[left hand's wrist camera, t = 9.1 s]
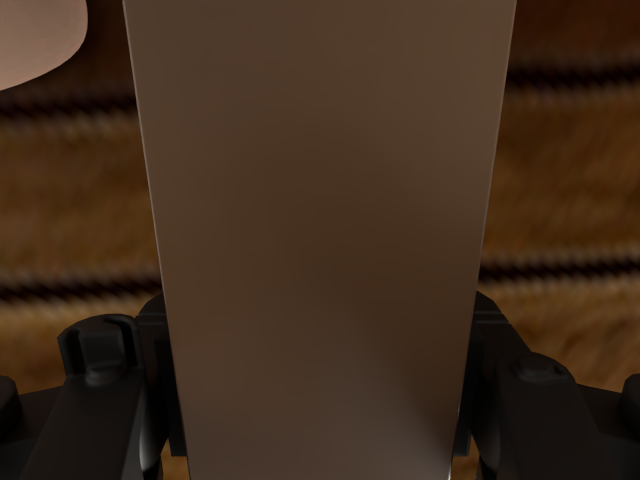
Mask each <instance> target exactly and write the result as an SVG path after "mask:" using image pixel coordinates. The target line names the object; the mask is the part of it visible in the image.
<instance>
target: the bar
mask: <svg viewBox="0 0 640 480" xmlns="http://www.w3.org/2000/svg"><path fill="white" fill-rule="evenodd" d="M122 2H123V9H124V16H125V23H126V30H127V37H128V44H129V51H130V58H131V65H132V72H133V80H134V87H135V94H136V101H137V108H138V115H139V122H140V129H141V136H142V143H143V150H144V158H145V165H146V172H147V179H148V186H149V193H150V200H151V207H152V214H153V221H154V228H155V235H156V243H157V250H158V257H159V264H160V271H161V278H162V285H163V292H164V299H165V306H166V313H167V320H168V328H169V335H170V342H171V349H172V356H173V363H174V370H175V377H176V384H177V391H178V398H179V406H180V413H181V420H182V427H183V434H184V441H185V448H186V455H187V462H188V469H189V476H190V480H450V475H451V468H452V461H453V453H454V446H455V439H456V432H457V425H458V418H459V410H460V403H461V396H462V389H463V382H464V375H465V367H466V360H467V353H468V346H469V339H470V332H471V324H472V317H473V310H474V303H475V296H476V289H477V281H478V274H479V267H480V260H481V253H482V246H483V238H484V231H485V224H486V217H487V210H488V203H489V195H490V188H491V181H492V174H493V167H494V159H495V152H496V145H497V138H498V131H499V124H500V116H501V109H502V102H503V95H504V88H505V81H506V73H507V66H508V59H509V52H510V45H511V38H512V30H513V23H514V16H515V9H516V2H517V0H122Z"/></svg>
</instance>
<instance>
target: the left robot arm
mask: <svg viewBox="0 0 640 480" xmlns="http://www.w3.org/2000/svg"><path fill="white" fill-rule="evenodd" d="M57 339H58V343H59V347H60V352H61V356H62V360H63V364H64V368H65V372H66V376H67V378H66V380H65V382H64V384H63V386H59V387H55V388H51V389H46V390H41V391H37V392H32V393H27V394H22V395H19V394H18V391H17V388H16V384H15V382H14V381H13V380H12V379H10V378H9V377H7V376H0V480H163V468H162V461H161V455H160V454H161V452H162V449H163V447H164V445H165V442H166V440H167V437H169V443H170V450H171V456H187V455H186V448H185V441H184V434H183V427H182V420H181V413H180V406H179V398H178V391H177V384H176V377H175V370H174V363H173V356H172V349H171V342H170V335H169V328H168V320H167V313H166V306H165V299H164V292H162V293H160V294H159V295H157V296H156V297H154V298H153V299H151V300H149V301H148V302H147V303H146V304H145V305H144V307H143V308H142V309H141V311H140V312H139V315H138V316H136V318H135V319H134V318H133V317H132V316H128V315H124V314H104V315H98V316H93V317H90V318H87V319H84V320H81V321H79V322H76V323H75V324H73V325H71V326H70V327H68V328H66V329H65V330H64V331H63V332H62V333H61V334H60V335H59V336H58V337H57ZM471 435H472V436H473V438H474V441H475V443H476V446H477V448H478V450H479V453H480V455H479V461H478V467H477V473H476V479H475V480H640V373H639V374H633V375H631V376H630V377H629V378H627V379H626V380H625V383H624V386H623V390H622V393H618V392H613V391H608V390H603V389H598V388H593V387H588V386H584V385H581V384H577V383H576V382H575V379H574V377H573V376H572V375H571V373H570V372H569V371H568V369H567V368H566V367H564V366H563V365H562V364H560V363H559V362H557V361H556V360H554V359H552V358H549V357H547V356H545V355H542V354H539V353H535V352H531V351H530V349H529V348H528V347H527V345H526V344H525V343H524V341H523V340H522V339H521V337H520V336H519V335H518V333H517V332H516V331H515V329H514V328H513V327H512V325H511V324H509V323H508V320H507V319H506V317H505V316H504V315H503V314H501V311H500V309H499V308H498V307H497V305H496V304H495V303H494V301H493V300H491V299H490V298H488V297H487V296H485V295H483V294H482V293H480V292H479V291H476V296H475V303H474V310H473V317H472V324H471V332H470V339H469V346H468V353H467V360H466V367H465V375H464V382H463V389H462V396H461V403H460V410H459V418H458V425H457V432H456V439H455V446H454V453H453V456H468V454H469V448H470V442H471Z"/></svg>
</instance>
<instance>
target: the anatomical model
mask: <svg viewBox="0 0 640 480" xmlns="http://www.w3.org/2000/svg"><path fill="white" fill-rule="evenodd" d="M87 23H88V17H87V5H86V0H0V90H3V89H6V88H9V87H13V86H16V85H19V84H21V83H24V82H26V81H29V80H31V79H33V78H36V77H38V76H41V75H43V74H45V73H47V72H48V71H50V70H52V69H54V68H56V67H58V66H59V65H61V64H62V63H64V62H65V61H67V60H68V59H69V58H71V56H72V55H73V54H74V53H75V52H76V51H77V50H78V49H79V48H80V46H81V44H82V43H83V41H84V38H85V35H86V31H87Z"/></svg>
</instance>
